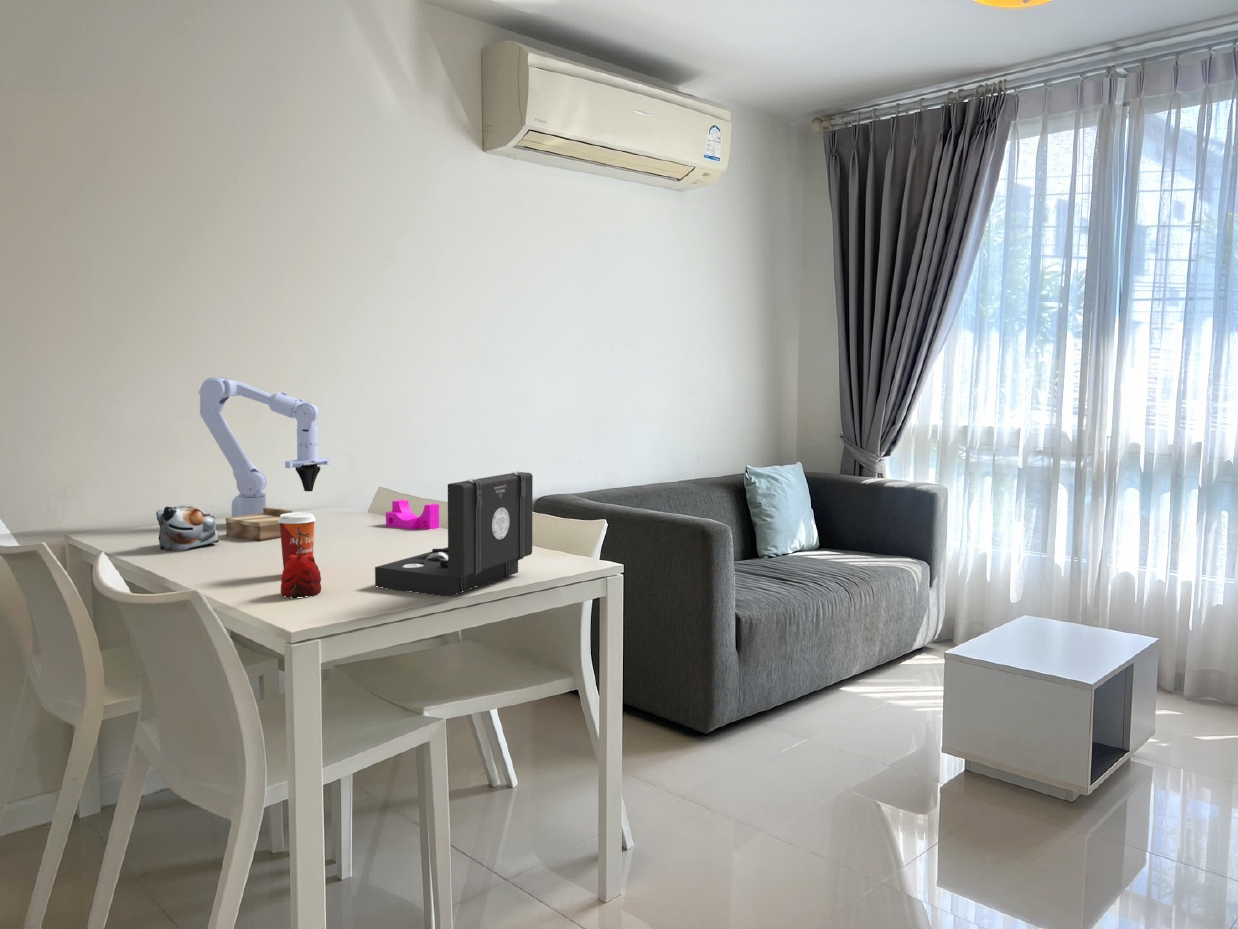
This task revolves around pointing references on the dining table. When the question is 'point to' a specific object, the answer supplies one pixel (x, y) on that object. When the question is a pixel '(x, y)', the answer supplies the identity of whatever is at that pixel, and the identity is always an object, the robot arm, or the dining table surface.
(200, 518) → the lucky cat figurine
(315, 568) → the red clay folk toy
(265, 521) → the lid
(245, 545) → the dining table surface
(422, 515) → the toy block
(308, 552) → the paper cup
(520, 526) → the watch box
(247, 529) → the walnut box
